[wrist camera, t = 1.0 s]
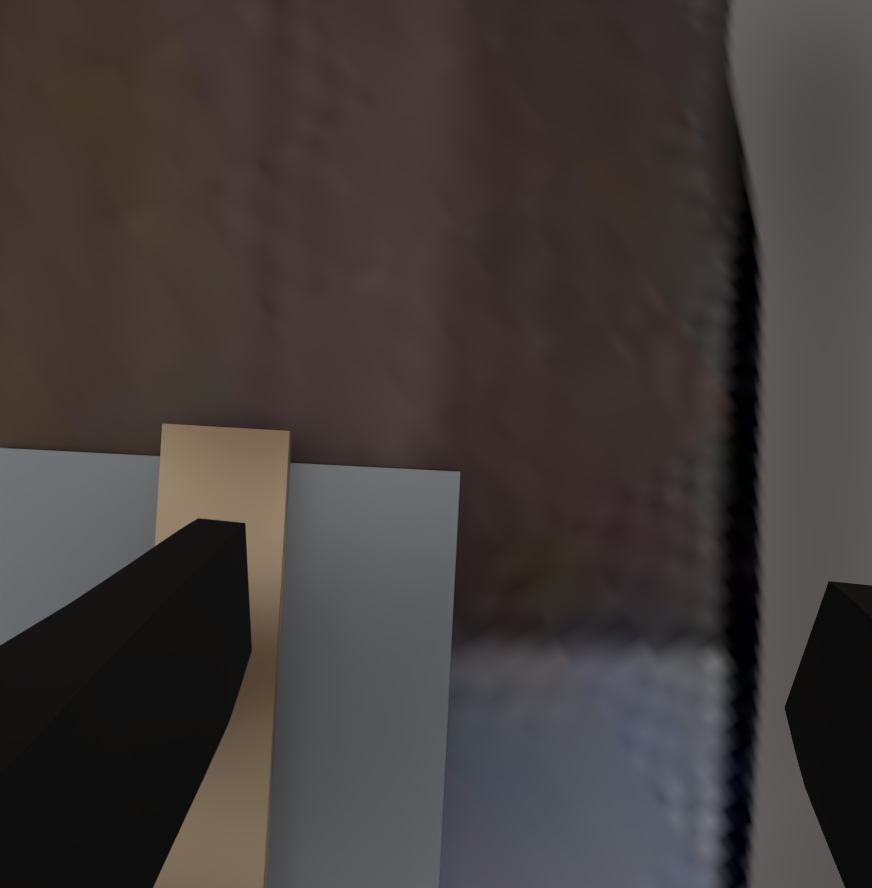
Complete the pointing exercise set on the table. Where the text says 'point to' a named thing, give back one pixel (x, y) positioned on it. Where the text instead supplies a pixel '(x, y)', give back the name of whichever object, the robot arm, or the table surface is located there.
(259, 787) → the bar
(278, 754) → the label board
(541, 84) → the table surface
